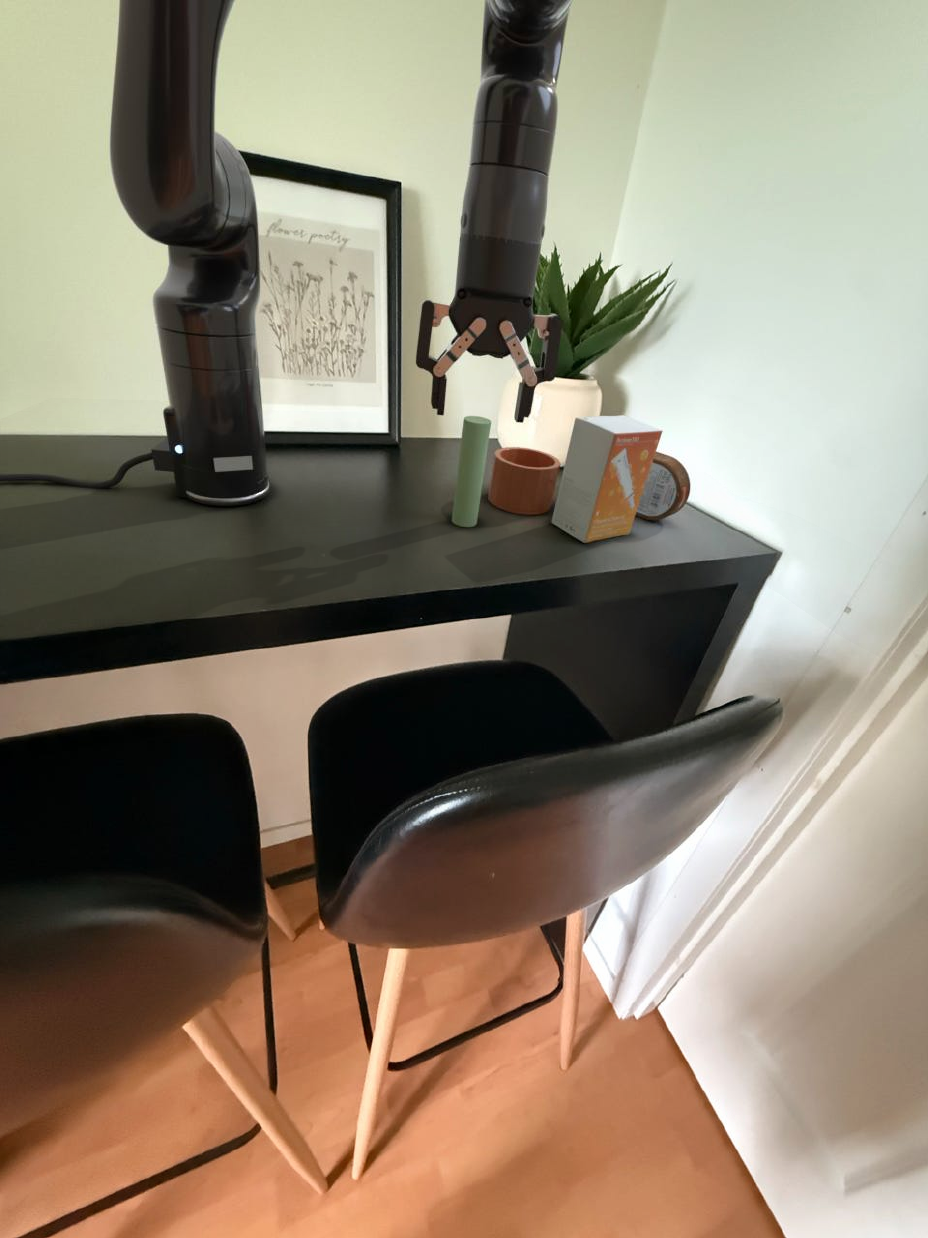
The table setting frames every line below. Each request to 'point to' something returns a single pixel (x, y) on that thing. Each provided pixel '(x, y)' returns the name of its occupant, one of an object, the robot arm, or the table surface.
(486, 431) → the candle
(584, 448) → the small box
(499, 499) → the holder
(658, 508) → the tin
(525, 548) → the table surface
